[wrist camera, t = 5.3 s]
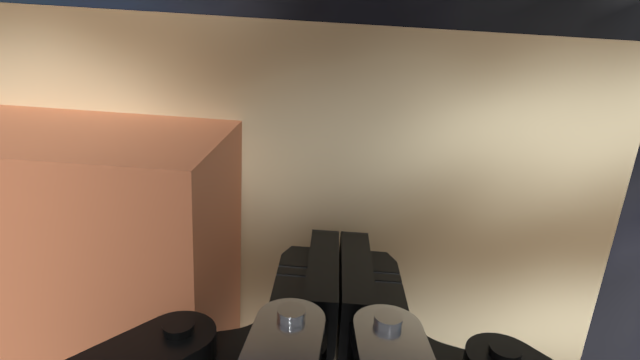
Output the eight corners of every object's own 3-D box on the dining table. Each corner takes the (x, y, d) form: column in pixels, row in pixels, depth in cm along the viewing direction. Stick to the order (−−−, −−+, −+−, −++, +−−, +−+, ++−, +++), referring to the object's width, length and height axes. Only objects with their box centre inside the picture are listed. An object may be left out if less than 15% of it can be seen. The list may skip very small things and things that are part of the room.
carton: (-26, 103, 12) (-216, 143, 8) (242, 120, 12) (191, 171, 8) (13, 330, 15) (-122, 457, 10) (240, 347, 14) (198, 482, 10)
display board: (-360, -19, 14) (-732, -43, 9) (620, 40, 13) (778, 48, 8) (-233, 334, 17) (-447, 450, 13) (534, 388, 17) (611, 529, 12)
